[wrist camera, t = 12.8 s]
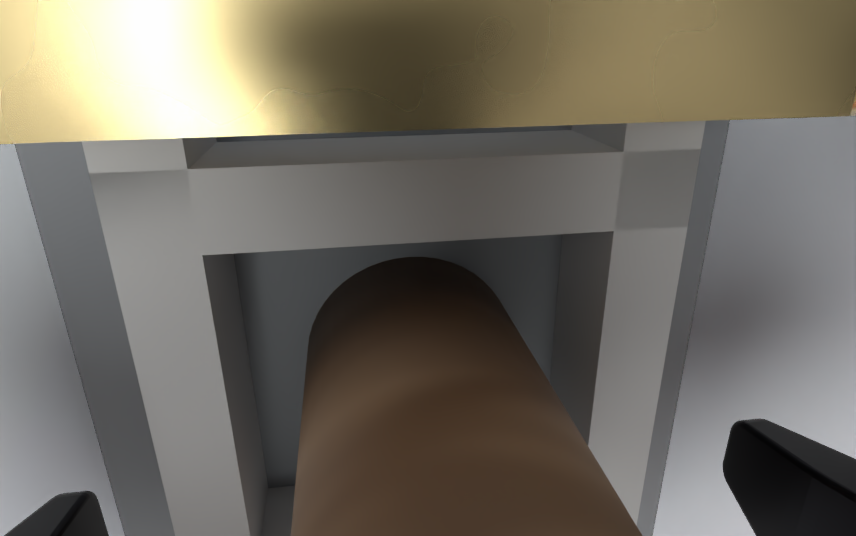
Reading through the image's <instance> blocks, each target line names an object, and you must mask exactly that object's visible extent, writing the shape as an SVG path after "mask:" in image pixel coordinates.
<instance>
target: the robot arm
mask: <svg viewBox="0 0 856 536" xmlns="http://www.w3.org/2000/svg"><path fill="white" fill-rule="evenodd" d="M723 472H724V476H725V479H726V482H727V484H728V486H729V487H730V489H731V491H732V493H733V495H734V496H735V498H736V500H737V502H738V504H739V506H740V507H741V509H742V511H743V513H744V515H745V516H746V518H747V520H748V522H749V524H750V525H751V527H752V529H753V531H754V533H755V535H756V536H856V459H854V458H852V457H850V456H847V455H845V454H843V453H841V452H838V451H836V450H834V449H831V448H829V447H827V446H825V445H822V444H820V443H818V442H816V441H813V440H811V439H809V438H806V437H804V436H802V435H800V434H797V433H795V432H793V431H790V430H788V429H786V428H784V427H781V426H779V425H777V424H775V423H772V422H770V421H768V420H765V419H750V420H741V421H738V422H735V424H734V425H733V426H732V428H731V431H730V435H729V440H728V444H727V448H726V452H725V457H724V461H723ZM4 536H109V535H108V532H107V528H106V525H105V522H104V518H103V515H102V512H101V508H100V505H99V502H98V499H97V497H96V495H95V494H94V493H93V492H90V491H81V492H72V493H63V494H59V495H57V496H55V497H54V498H52V499H51V500H49V501H48V502H47V503H46V504H44V505H43V506H42V507H40V508H39V509H38V510H36V511H35V512H34V513H33V514H31V515H30V516H29V517H27V518H26V519H25V520H24V521H22V522H21V523H20V524H18V525H17V526H16V527H15V528H13V529H12V530H11V531H9V532H8V533H7V534H5V535H4Z"/></svg>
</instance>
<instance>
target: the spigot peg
mask: <svg viewBox="0 0 856 536" xmlns="http://www.w3.org/2000/svg"><path fill="white" fill-rule="evenodd" d="M291 536H642V534H641V532H640V531H639V529H638V527H637V526H636V524H635V523H634V521H633V519H632V518H631V516H630V514H629V513H628V511H627V509H626V508H625V506H624V504H623V503H622V501H621V499H620V498H619V496H618V495H617V493H616V491H615V490H614V488H613V486H612V485H611V483H610V481H609V480H608V478H607V476H606V475H605V473H604V471H603V470H602V468H601V467H600V465H599V463H598V462H597V460H596V458H595V457H594V455H593V453H592V452H591V450H590V448H589V447H588V445H587V443H586V442H585V440H584V439H583V437H582V435H581V434H580V432H579V430H578V429H577V427H576V425H575V424H574V422H573V420H572V419H571V417H570V415H569V414H568V412H567V411H566V409H565V407H564V406H563V404H562V402H561V401H560V399H559V397H558V396H557V394H556V392H555V391H554V389H553V387H552V386H551V384H550V383H549V381H548V379H547V378H546V376H545V374H544V373H543V371H542V369H541V368H540V366H539V364H538V363H537V361H536V359H535V358H534V356H533V355H532V353H531V351H530V350H529V348H528V346H527V345H526V343H525V341H524V340H523V338H522V336H521V335H520V333H519V331H518V330H517V328H516V326H515V325H514V323H513V322H512V320H511V318H510V317H509V315H508V313H507V312H506V310H505V308H504V307H503V305H502V303H501V302H500V300H499V299H498V297H497V296H496V294H495V293H494V292H493V290H492V289H491V288H490V287H489V286H488V285H487V284H486V283H485V282H484V281H483V280H482V279H481V278H479V277H478V276H477V275H475V274H474V273H472V272H471V271H469V270H467V269H465V268H464V267H462V266H459V265H457V264H454V263H452V262H449V261H445V260H441V259H437V258H429V257H404V258H396V259H391V260H387V261H383V262H380V263H377V264H375V265H372V266H369V267H367V268H365V269H363V270H361V271H360V272H358V273H356V274H354V275H353V276H351V277H350V278H349V279H347V280H346V281H344V282H343V283H342V284H341V285H340V286H339V287H338V288H337V289H335V290H334V291H333V292H332V294H331V295H330V296H329V297H328V298H327V300H326V301H325V302H324V304H323V305H322V307H321V309H320V310H319V312H318V314H317V316H316V318H315V320H314V322H313V325H312V328H311V332H310V335H309V342H308V351H307V362H306V373H305V384H304V395H303V406H302V417H301V428H300V439H299V450H298V461H297V472H296V483H295V494H294V505H293V516H292V527H291Z"/></svg>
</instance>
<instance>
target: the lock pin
mask: <svg viewBox="0 0 856 536" xmlns="http://www.w3.org/2000/svg"><path fill="white" fill-rule="evenodd" d="M837 116H856V0H0V144H19V143H49V142H79V141H109V140H139V139H170V138H200V137H230V136H260V135H290V134H320V133H350V132H380V131H410V130H440V129H470V128H500V127H530V126H560V125H591V124H621V123H651V122H681V121H711V120H741V119H771V118H807V117H837Z"/></svg>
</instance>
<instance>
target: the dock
mask: <svg viewBox="0 0 856 536" xmlns="http://www.w3.org/2000/svg"><path fill="white" fill-rule="evenodd" d="M729 121H730V120H711V121H681V122H651V123H621V124H591V125H560V126H530V127H500V128H470V129H440V130H410V131H380V132H350V133H320V134H290V135H260V136H230V137H200V138H170V139H139V140H109V141H79V142H49V143H19V144H15V147H16V150H17V154H18V158H19V161H20V165H21V168H22V172H23V175H24V179H25V182H26V186H27V190H28V193H29V197H30V200H31V204H32V207H33V211H34V214H35V218H36V221H37V225H38V229H39V232H40V236H41V239H42V243H43V246H44V250H45V253H46V257H47V260H48V264H49V268H50V271H51V275H52V278H53V282H54V285H55V289H56V292H57V296H58V299H59V303H60V307H61V310H62V314H63V317H64V321H65V324H66V328H67V331H68V335H69V338H70V342H71V346H72V349H73V353H74V356H75V360H76V363H77V367H78V370H79V374H80V377H81V381H82V385H83V388H84V392H85V395H86V399H87V402H88V406H89V409H90V413H91V416H92V420H93V424H94V427H95V431H96V434H97V438H98V441H99V445H100V448H101V452H102V455H103V459H104V463H105V466H106V470H107V473H108V477H109V480H110V484H111V487H112V491H113V494H114V498H115V502H116V505H117V509H118V512H119V516H120V519H121V523H122V526H123V530H124V533H125V536H291V527H292V516H293V505H294V494H295V483H296V472H297V461H298V450H299V439H300V428H301V417H302V406H303V395H304V384H305V373H306V362H307V351H308V342H309V335H310V332H311V328H312V325H313V322H314V320H315V318H316V316H317V314H318V312H319V310H320V309H321V307H322V305H323V304H324V302H325V301H326V300H327V298H328V297H329V296H330V295H331V294H332V292H333V291H334V290H335V289H337V288H338V287H339V286H340V285H341V284H342V283H343V282H344V281H346V280H347V279H349V278H350V277H351V276H353V275H354V274H356V273H358V272H360V271H361V270H363V269H365V268H367V267H369V266H372V265H375V264H377V263H380V262H383V261H387V260H391V259H396V258H404V257H429V258H437V259H441V260H445V261H449V262H452V263H454V264H457V265H459V266H462V267H464V268H465V269H467V270H469V271H471V272H472V273H474V274H475V275H477V276H478V277H479V278H481V279H482V280H483V281H484V282H485V283H486V284H487V285H488V286H489V287H490V288H491V289H492V290H493V292H494V293H495V294H496V296H497V297H498V299H499V300H500V302H501V303H502V305H503V307H504V308H505V310H506V312H507V313H508V315H509V317H510V318H511V320H512V322H513V323H514V325H515V326H516V328H517V330H518V331H519V333H520V335H521V336H522V338H523V340H524V341H525V343H526V345H527V346H528V348H529V350H530V351H531V353H532V355H533V356H534V358H535V359H536V361H537V363H538V364H539V366H540V368H541V369H542V371H543V373H544V374H545V376H546V378H547V379H548V381H549V383H550V384H551V386H552V387H553V389H554V391H555V392H556V394H557V396H558V397H559V399H560V401H561V402H562V404H563V406H564V407H565V409H566V411H567V412H568V414H569V415H570V417H571V419H572V420H573V422H574V424H575V425H576V427H577V429H578V430H579V432H580V434H581V435H582V437H583V439H584V440H585V442H586V443H587V445H588V447H589V448H590V450H591V452H592V453H593V455H594V457H595V458H596V460H597V462H598V463H599V465H600V467H601V468H602V470H603V471H604V473H605V475H606V476H607V478H608V480H609V481H610V483H611V485H612V486H613V488H614V490H615V491H616V493H617V495H618V496H619V498H620V499H621V501H622V503H623V504H624V506H625V508H626V509H627V511H628V513H629V514H630V516H631V518H632V519H633V521H634V523H635V524H636V526H637V527H638V529H639V531H640V532H641V534H642V536H652V535H653V529H654V524H655V518H656V513H657V508H658V502H659V497H660V492H661V486H662V481H663V476H664V470H665V465H666V459H667V454H668V449H669V443H670V438H671V433H672V427H673V422H674V416H675V411H676V406H677V400H678V395H679V390H680V384H681V379H682V374H683V368H684V363H685V357H686V352H687V347H688V341H689V336H690V331H691V325H692V320H693V314H694V309H695V304H696V298H697V293H698V288H699V282H700V277H701V272H702V266H703V261H704V255H705V250H706V245H707V239H708V234H709V229H710V223H711V218H712V212H713V207H714V202H715V196H716V191H717V186H718V180H719V175H720V170H721V164H722V159H723V153H724V148H725V143H726V137H727V132H728V127H729Z"/></svg>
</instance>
